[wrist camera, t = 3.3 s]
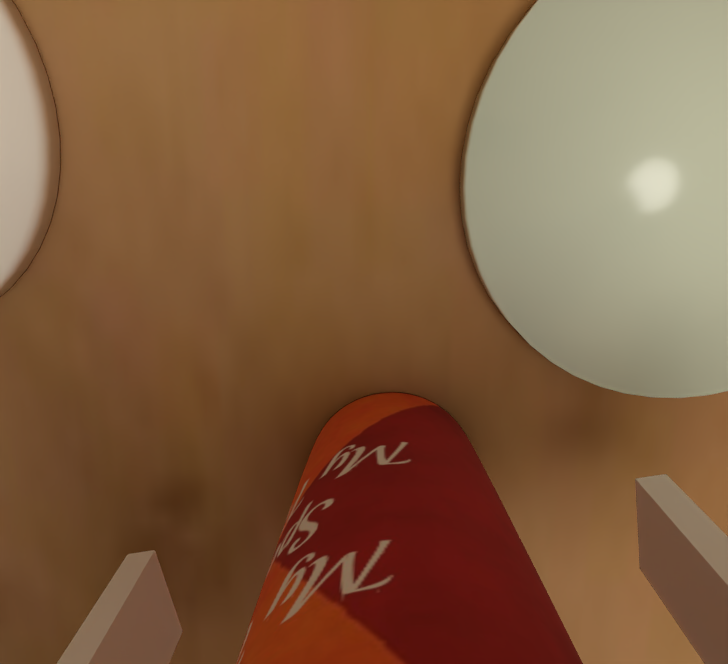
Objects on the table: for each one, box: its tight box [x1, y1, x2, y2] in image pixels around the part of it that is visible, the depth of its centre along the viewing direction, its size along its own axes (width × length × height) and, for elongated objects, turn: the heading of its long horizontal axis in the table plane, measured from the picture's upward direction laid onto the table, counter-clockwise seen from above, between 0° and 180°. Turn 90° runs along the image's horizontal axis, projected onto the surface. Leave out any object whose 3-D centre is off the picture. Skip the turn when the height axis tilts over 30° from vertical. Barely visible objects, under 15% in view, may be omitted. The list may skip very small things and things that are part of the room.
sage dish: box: [460, 0, 728, 398], centre depth 15 cm, size 13×13×1 cm
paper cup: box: [236, 392, 583, 664], centre depth 12 cm, size 8×8×14 cm
